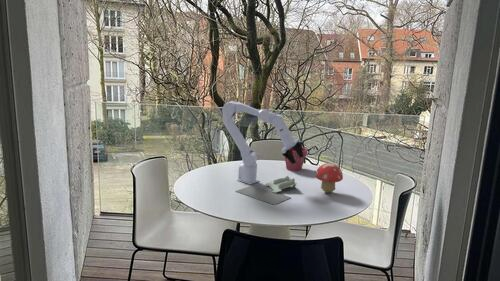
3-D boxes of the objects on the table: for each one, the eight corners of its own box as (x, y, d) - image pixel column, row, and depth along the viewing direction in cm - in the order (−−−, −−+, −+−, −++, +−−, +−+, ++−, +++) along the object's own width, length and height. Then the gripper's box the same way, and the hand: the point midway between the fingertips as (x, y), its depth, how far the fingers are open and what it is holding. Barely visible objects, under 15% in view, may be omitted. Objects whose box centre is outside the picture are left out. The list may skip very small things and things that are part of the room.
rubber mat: (235, 191, 183) (235, 190, 183) (253, 185, 193) (253, 185, 193) (274, 205, 168) (274, 204, 168) (291, 198, 177) (291, 197, 177)
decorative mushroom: (321, 198, 179) (323, 167, 176) (309, 188, 191) (311, 160, 188) (346, 196, 182) (349, 166, 179) (333, 187, 195) (335, 159, 192)
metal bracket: (288, 172, 198) (299, 180, 184) (291, 182, 199) (302, 191, 185) (263, 181, 195) (272, 189, 181) (266, 191, 196) (275, 200, 182)
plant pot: (279, 170, 222) (280, 149, 219) (284, 164, 235) (285, 144, 232) (303, 173, 218) (305, 152, 215) (307, 167, 231) (308, 147, 228)
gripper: (283, 139, 183) (296, 164, 184) (299, 129, 193) (311, 152, 194) (273, 143, 188) (286, 167, 189) (289, 133, 198) (301, 155, 199)
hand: (298, 160), depth 192 cm, fingers open, 7 cm apart
